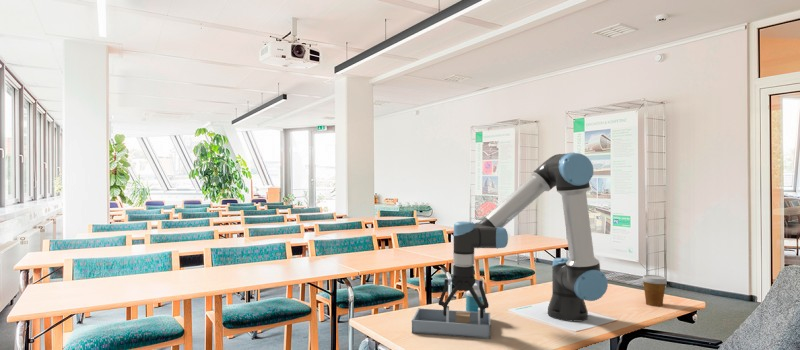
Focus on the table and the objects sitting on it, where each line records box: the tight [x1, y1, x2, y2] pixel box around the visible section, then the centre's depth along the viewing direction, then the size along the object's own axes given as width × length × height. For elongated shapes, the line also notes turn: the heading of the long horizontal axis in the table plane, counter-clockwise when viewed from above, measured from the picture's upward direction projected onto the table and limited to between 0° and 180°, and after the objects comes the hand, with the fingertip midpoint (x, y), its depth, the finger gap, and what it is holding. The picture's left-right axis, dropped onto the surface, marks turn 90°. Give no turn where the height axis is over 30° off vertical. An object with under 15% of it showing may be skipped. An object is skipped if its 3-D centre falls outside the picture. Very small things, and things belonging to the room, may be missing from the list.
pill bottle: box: [465, 283, 486, 313], centre depth 181 cm, size 8×7×14 cm
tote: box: [411, 307, 491, 340], centre depth 169 cm, size 27×15×4 cm, turn 79°
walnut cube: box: [456, 310, 470, 324], centre depth 168 cm, size 5×5×5 cm
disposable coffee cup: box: [641, 274, 668, 307], centre depth 203 cm, size 10×10×12 cm
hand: (463, 325), depth 168 cm, fingers open, 10 cm apart
